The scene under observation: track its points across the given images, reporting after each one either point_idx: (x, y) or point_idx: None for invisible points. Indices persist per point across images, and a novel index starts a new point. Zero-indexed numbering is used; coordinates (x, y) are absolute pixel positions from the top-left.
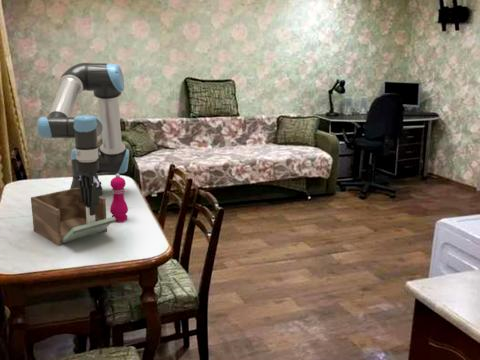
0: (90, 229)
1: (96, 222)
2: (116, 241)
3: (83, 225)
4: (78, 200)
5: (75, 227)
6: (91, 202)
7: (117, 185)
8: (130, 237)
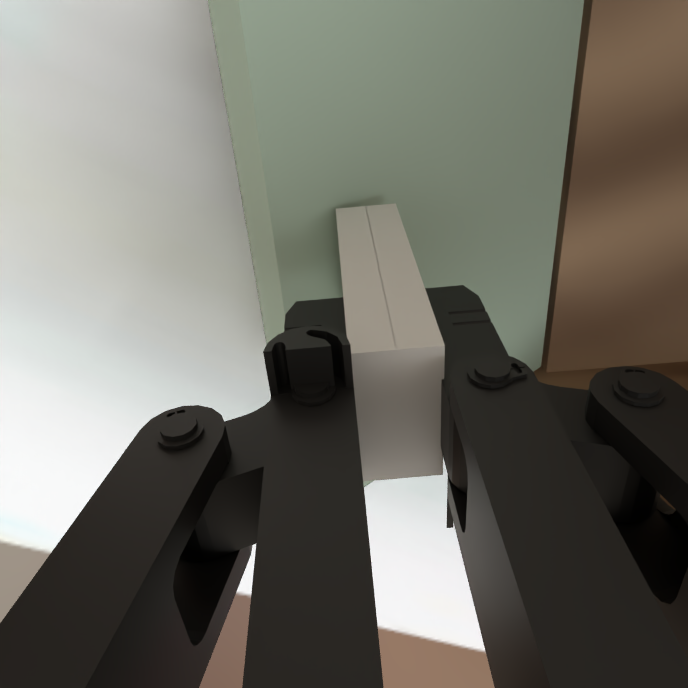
0: None
1: (276, 302)
2: (262, 346)
3: (247, 87)
4: None
5: None
6: (159, 488)
7: None
8: None
